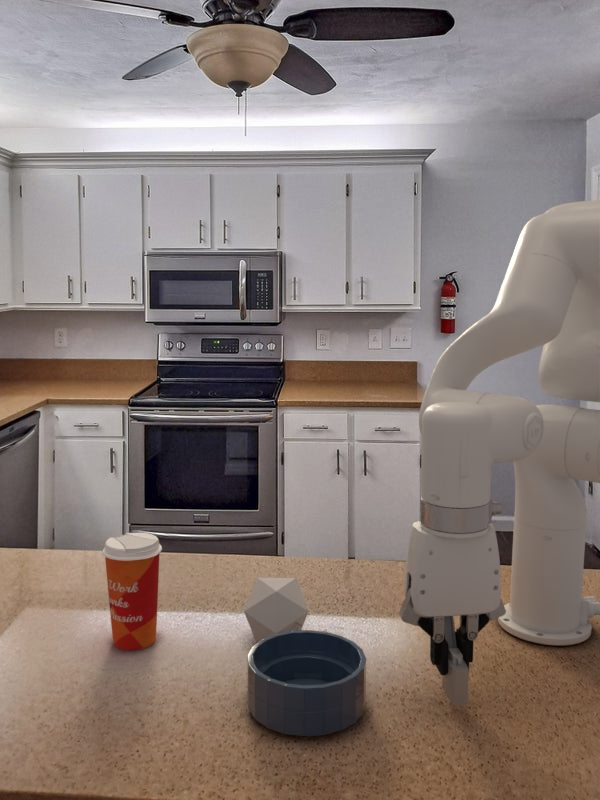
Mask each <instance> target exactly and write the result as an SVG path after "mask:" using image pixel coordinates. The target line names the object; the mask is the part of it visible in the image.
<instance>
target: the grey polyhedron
mask: <svg viewBox="0 0 600 800" xmlns="http://www.w3.org/2000/svg"><path fill="white" fill-rule="evenodd" d="M243 613H244V615H245V618H246V620H247V623H248V625H249V628H250V630H251V632H252V636H253V638H254V640H255V644H257V643H258V642H259V641H261V640H262V639H264V638H267V637H269V636H272V635H274V634H278V633H283V632H288V631H298V630H303V627H304V625H305V622H306V620H307V617H308V615H309V609H308V605H307V603H306V601H305V597H304V594H303V593H302V590H301V586H300V585H299V582H298V579H297V577H257V578H256V580H255V583H254V585H253V588H252V590H251V593H250V595H249V597H248V600H247V603H246V605H245V608H244V611H243Z"/></svg>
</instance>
